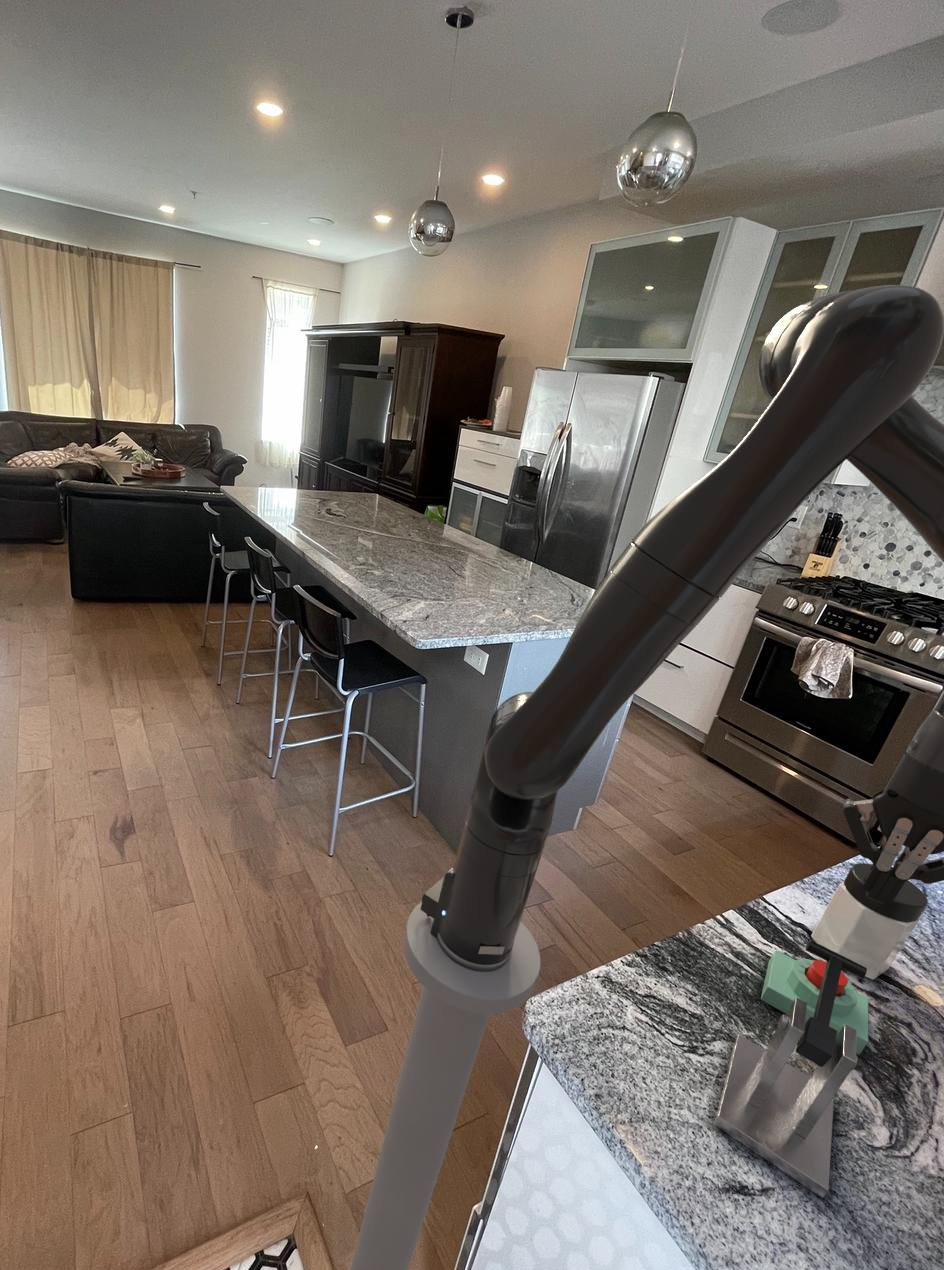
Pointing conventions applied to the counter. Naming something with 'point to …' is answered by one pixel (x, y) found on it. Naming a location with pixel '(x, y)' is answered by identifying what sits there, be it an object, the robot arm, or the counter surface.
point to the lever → (825, 1006)
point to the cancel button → (817, 974)
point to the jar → (869, 922)
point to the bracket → (786, 1100)
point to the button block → (813, 996)
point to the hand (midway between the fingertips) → (873, 896)
